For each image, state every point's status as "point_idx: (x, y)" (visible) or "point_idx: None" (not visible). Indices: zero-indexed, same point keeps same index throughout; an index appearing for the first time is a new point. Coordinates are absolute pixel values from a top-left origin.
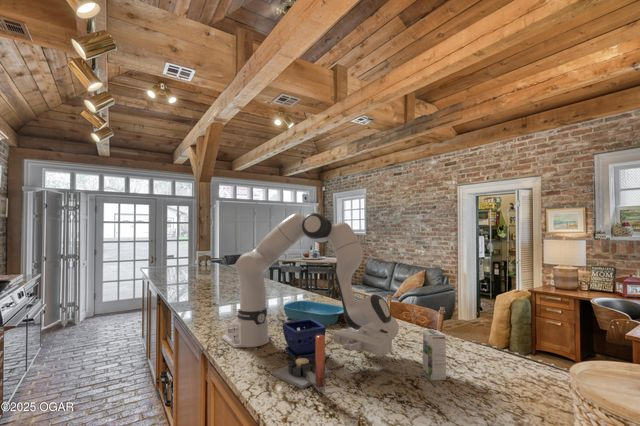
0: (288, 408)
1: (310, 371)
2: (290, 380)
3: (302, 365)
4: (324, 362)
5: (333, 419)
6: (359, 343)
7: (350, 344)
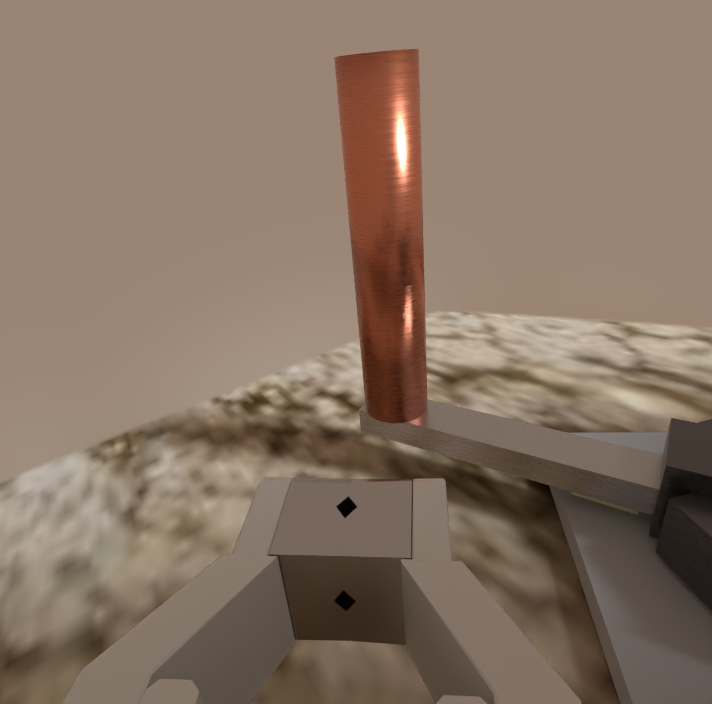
0: (435, 354)
1: (618, 473)
2: (658, 432)
3: (696, 425)
4: (354, 270)
5: (236, 392)
6: (85, 670)
7: (303, 511)
